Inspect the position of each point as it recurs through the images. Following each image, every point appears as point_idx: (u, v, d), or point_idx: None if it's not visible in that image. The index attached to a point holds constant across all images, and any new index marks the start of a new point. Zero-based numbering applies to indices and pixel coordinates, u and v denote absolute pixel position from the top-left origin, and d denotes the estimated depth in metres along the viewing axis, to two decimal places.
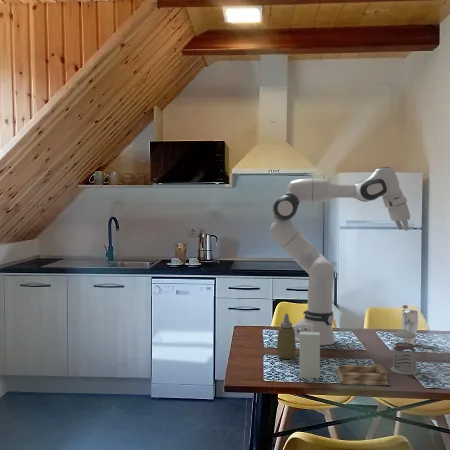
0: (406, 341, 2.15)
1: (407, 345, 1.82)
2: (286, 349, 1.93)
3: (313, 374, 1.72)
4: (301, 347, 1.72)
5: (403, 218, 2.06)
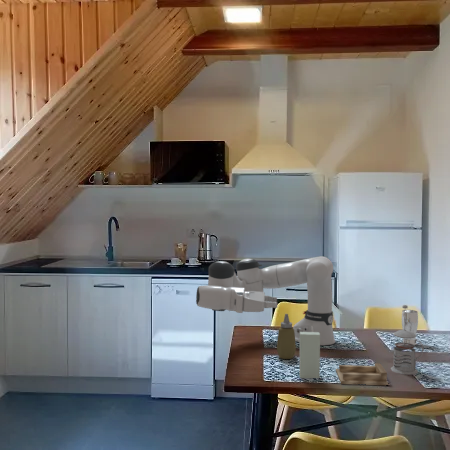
0: (406, 341, 2.15)
1: (407, 345, 1.82)
2: (286, 349, 1.93)
3: (313, 374, 1.72)
4: (301, 347, 1.72)
5: (260, 310, 1.65)
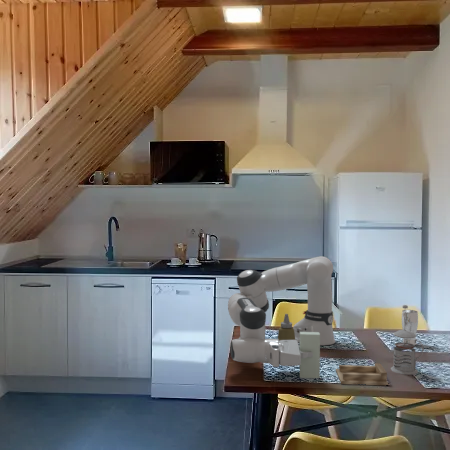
0: (406, 341, 2.15)
1: (407, 345, 1.82)
2: None
3: (313, 373, 1.72)
4: (301, 347, 1.73)
5: (297, 363, 1.65)
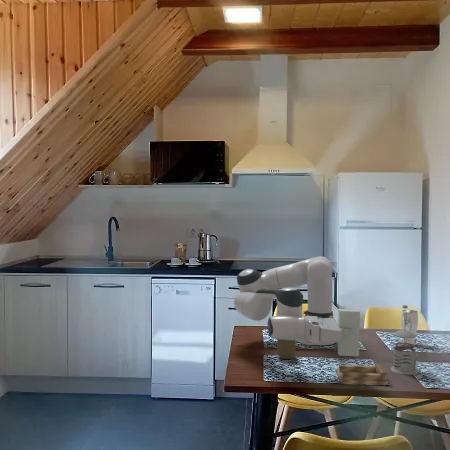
0: (406, 341, 2.15)
1: (407, 345, 1.82)
2: (286, 349, 1.93)
3: (352, 351, 1.70)
4: (340, 324, 1.71)
5: (338, 339, 1.63)
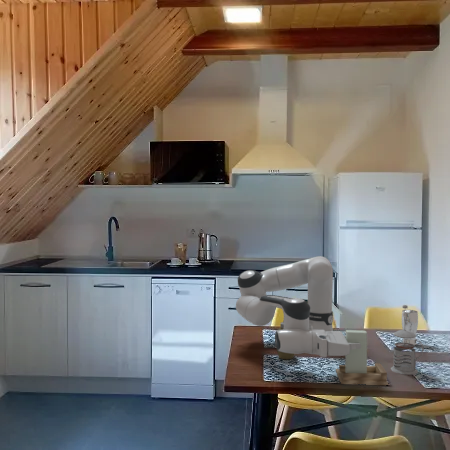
0: (406, 341, 2.15)
1: (407, 345, 1.82)
2: None
3: (360, 372, 1.71)
4: None
5: (346, 353, 1.63)
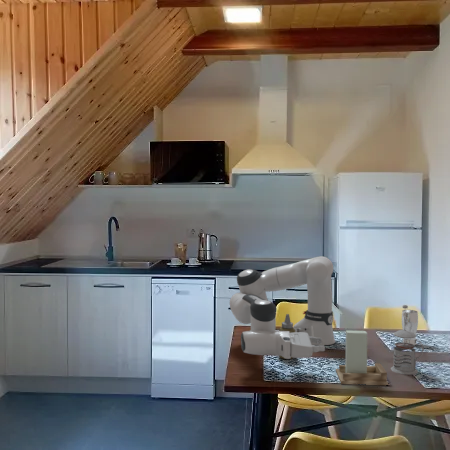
0: (406, 341, 2.15)
1: (407, 345, 1.82)
2: None
3: None
4: (348, 346, 1.71)
5: (308, 355, 1.64)
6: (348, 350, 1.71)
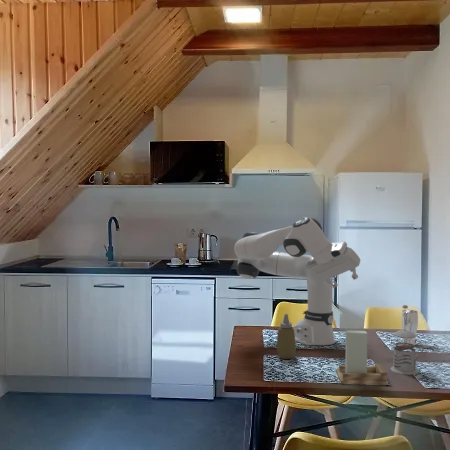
0: (406, 341, 2.15)
1: (407, 345, 1.82)
2: (286, 349, 1.93)
3: None
4: (348, 346, 1.71)
5: (358, 262, 1.74)
6: (348, 350, 1.71)
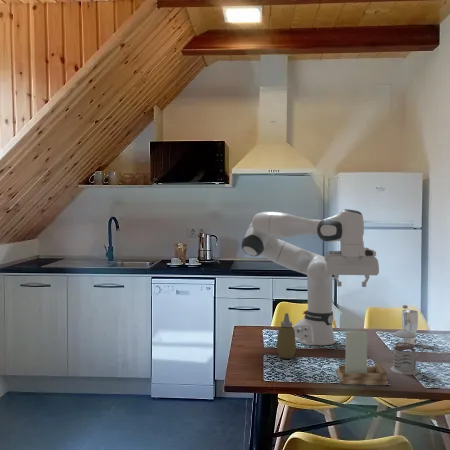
0: (406, 341, 2.15)
1: (407, 345, 1.82)
2: (287, 348, 1.93)
3: None
4: (348, 346, 1.71)
5: (378, 271, 1.84)
6: (348, 350, 1.71)
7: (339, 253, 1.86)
